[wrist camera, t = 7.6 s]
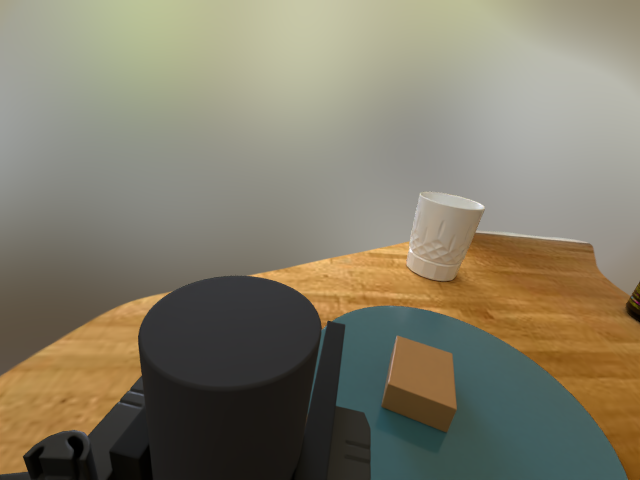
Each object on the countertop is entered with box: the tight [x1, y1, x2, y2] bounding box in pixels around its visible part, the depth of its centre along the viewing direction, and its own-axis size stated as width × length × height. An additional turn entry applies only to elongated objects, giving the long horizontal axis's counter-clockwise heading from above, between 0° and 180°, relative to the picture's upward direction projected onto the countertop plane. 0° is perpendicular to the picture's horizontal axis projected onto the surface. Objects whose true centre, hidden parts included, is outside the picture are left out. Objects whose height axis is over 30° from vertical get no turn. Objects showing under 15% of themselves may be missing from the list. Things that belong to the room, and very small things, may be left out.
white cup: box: [406, 192, 485, 281], centre depth 41 cm, size 8×8×10 cm
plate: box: [305, 306, 628, 480], centre depth 22 cm, size 20×20×1 cm
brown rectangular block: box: [381, 336, 457, 432], centre depth 21 cm, size 4×5×2 cm
